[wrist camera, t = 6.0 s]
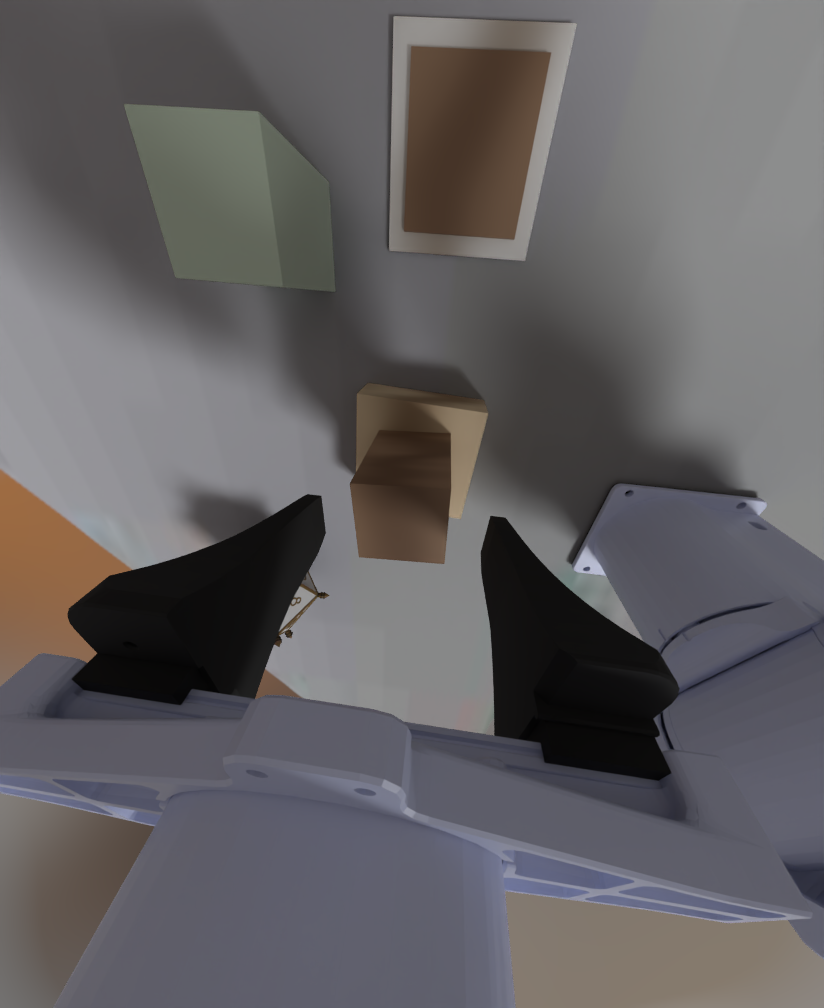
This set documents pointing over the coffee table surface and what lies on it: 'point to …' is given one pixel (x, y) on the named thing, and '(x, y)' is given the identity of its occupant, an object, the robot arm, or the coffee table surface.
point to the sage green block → (234, 198)
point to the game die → (299, 606)
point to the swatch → (472, 132)
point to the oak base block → (425, 427)
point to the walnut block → (403, 497)
